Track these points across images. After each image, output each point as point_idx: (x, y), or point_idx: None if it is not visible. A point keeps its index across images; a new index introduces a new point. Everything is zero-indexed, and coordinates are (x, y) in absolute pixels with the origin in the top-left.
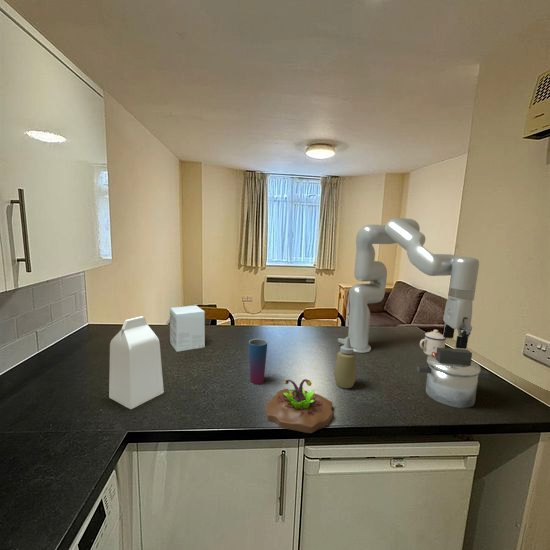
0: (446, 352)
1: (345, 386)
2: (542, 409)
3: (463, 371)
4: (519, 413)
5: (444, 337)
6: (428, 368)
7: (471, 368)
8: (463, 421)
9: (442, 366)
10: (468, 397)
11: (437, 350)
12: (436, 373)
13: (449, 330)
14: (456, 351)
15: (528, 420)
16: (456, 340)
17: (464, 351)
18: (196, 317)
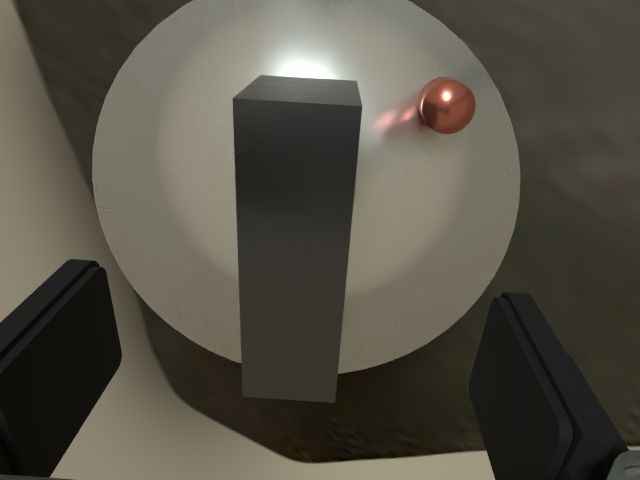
0: (236, 164)
1: None
2: (259, 438)
3: (121, 210)
4: (210, 354)
5: (502, 296)
6: None
7: (202, 297)
8: (60, 82)
9: (180, 67)
10: None
11: (342, 98)
12: None
13: (518, 437)
14: (255, 279)
15: (164, 354)
16: (31, 319)
17: (272, 354)
18: None
